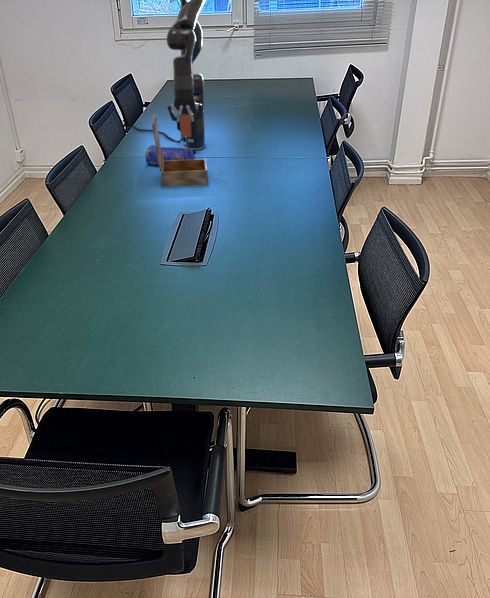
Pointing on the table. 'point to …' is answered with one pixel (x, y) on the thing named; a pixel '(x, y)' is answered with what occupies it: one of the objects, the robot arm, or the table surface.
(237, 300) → the table surface
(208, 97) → the table surface
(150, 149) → the pencil case
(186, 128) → the block
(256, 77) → the table surface
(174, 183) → the chest
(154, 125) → the lid
